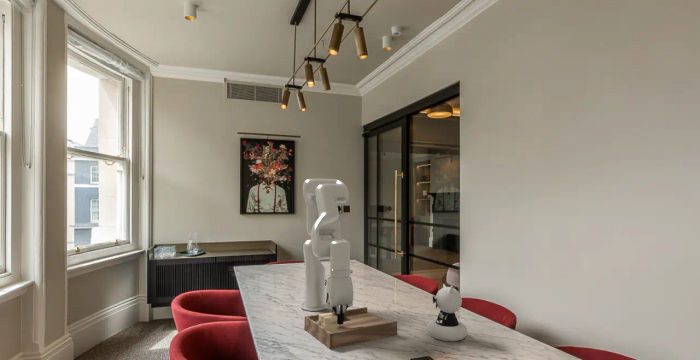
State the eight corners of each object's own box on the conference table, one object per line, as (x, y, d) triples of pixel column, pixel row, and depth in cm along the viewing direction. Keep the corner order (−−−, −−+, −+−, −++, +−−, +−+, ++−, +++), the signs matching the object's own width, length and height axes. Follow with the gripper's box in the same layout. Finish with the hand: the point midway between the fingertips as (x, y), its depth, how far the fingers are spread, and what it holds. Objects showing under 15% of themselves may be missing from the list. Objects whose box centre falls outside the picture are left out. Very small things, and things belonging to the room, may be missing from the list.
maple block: (318, 328, 142) (318, 314, 142) (330, 326, 144) (331, 312, 144) (324, 332, 137) (324, 318, 138) (337, 330, 140) (337, 316, 140)
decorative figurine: (422, 329, 150) (422, 277, 151) (458, 328, 152) (458, 277, 153) (433, 343, 136) (433, 286, 137) (473, 343, 137) (473, 285, 138)
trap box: (304, 329, 149) (304, 316, 149) (366, 319, 163) (366, 307, 163) (330, 349, 130) (330, 334, 130) (397, 335, 144) (397, 321, 144)
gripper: (352, 270, 152) (351, 318, 151) (317, 273, 144) (316, 323, 143) (362, 273, 145) (361, 323, 144) (326, 277, 138) (325, 329, 137)
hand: (339, 323), depth 144 cm, fingers closed
